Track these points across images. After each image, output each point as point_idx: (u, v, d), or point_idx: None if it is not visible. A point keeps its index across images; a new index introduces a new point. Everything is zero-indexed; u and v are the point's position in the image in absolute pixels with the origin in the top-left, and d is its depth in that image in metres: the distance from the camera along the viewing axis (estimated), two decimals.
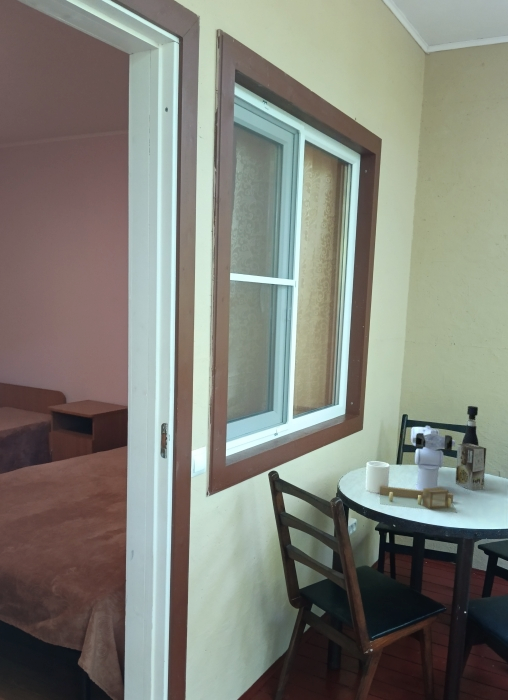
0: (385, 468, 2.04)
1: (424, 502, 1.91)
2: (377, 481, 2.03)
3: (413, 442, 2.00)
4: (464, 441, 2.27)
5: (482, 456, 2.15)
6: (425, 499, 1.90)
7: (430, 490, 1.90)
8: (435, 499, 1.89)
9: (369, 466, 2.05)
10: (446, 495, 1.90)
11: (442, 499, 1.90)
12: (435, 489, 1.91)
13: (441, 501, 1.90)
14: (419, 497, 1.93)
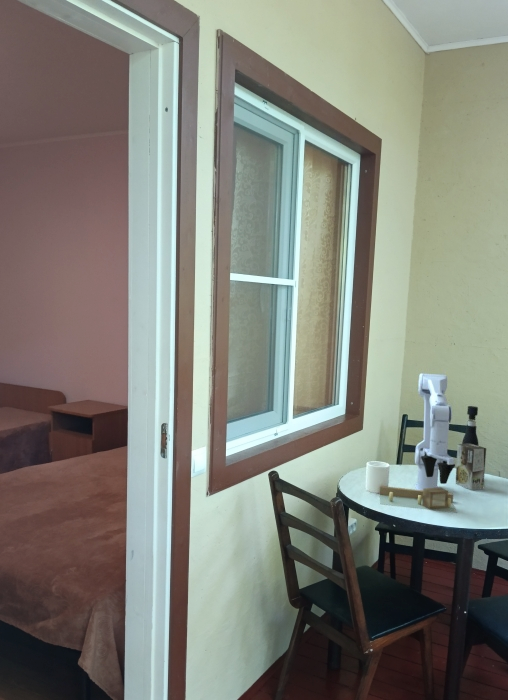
0: (385, 468, 2.04)
1: (424, 502, 1.91)
2: (377, 481, 2.03)
3: None
4: (464, 441, 2.27)
5: (482, 456, 2.15)
6: (425, 499, 1.90)
7: (430, 490, 1.90)
8: (435, 499, 1.89)
9: (369, 466, 2.05)
10: (446, 495, 1.90)
11: (442, 499, 1.90)
12: (435, 489, 1.91)
13: (441, 501, 1.90)
14: (419, 497, 1.93)
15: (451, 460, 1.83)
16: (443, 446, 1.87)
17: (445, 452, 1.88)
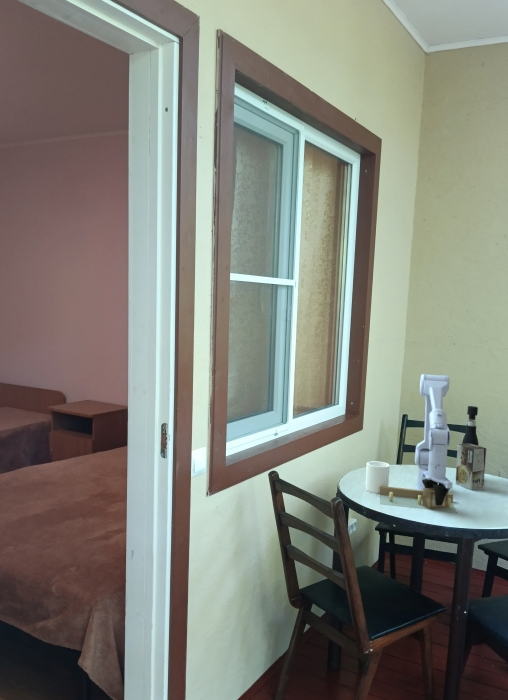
0: (385, 468, 2.04)
1: (424, 502, 1.91)
2: (377, 481, 2.03)
3: None
4: (464, 441, 2.27)
5: (482, 456, 2.15)
6: (425, 499, 1.90)
7: (430, 490, 1.90)
8: None
9: (369, 466, 2.05)
10: (446, 495, 1.90)
11: None
12: None
13: None
14: (419, 497, 1.93)
15: (449, 484, 1.84)
16: (441, 469, 1.88)
17: (443, 475, 1.88)
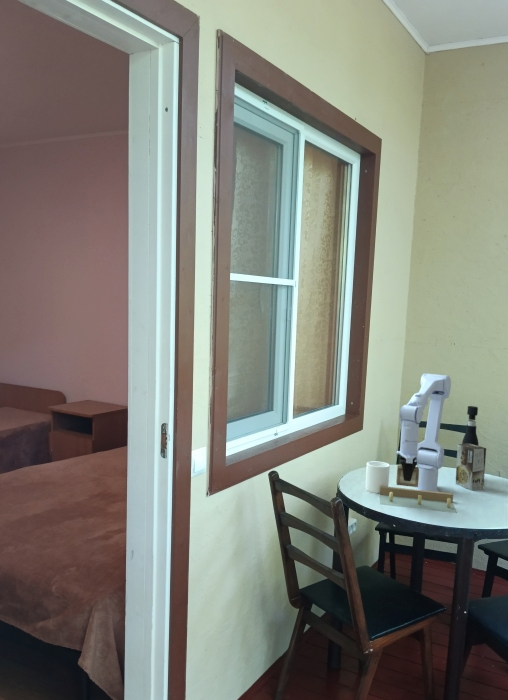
0: (385, 468, 2.04)
1: None
2: (377, 481, 2.03)
3: None
4: (464, 441, 2.27)
5: (482, 456, 2.15)
6: None
7: (400, 467, 1.93)
8: None
9: (369, 466, 2.05)
10: (416, 474, 1.91)
11: (412, 477, 1.91)
12: None
13: None
14: (419, 497, 1.93)
15: (409, 459, 1.86)
16: (409, 445, 1.90)
17: (411, 451, 1.90)
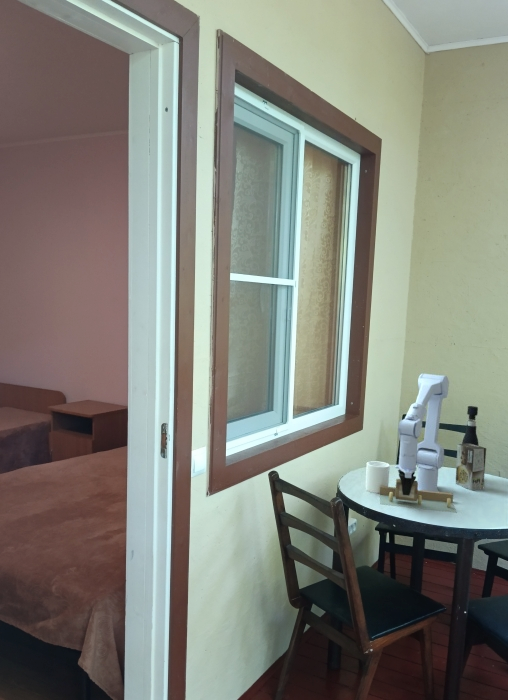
0: (385, 468, 2.04)
1: (395, 492, 1.96)
2: (377, 481, 2.03)
3: None
4: (464, 441, 2.27)
5: (482, 456, 2.15)
6: None
7: (399, 481, 1.94)
8: None
9: (369, 466, 2.05)
10: (415, 488, 1.91)
11: (411, 491, 1.92)
12: None
13: None
14: (419, 497, 1.93)
15: (408, 473, 1.86)
16: (407, 459, 1.91)
17: (410, 466, 1.91)
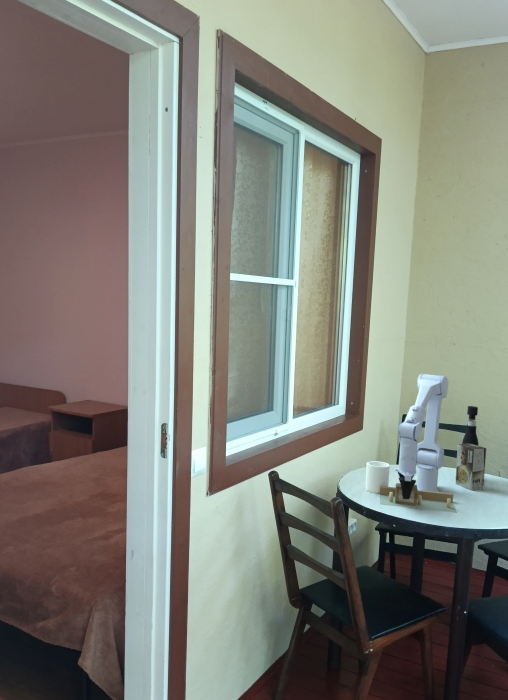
0: (385, 468, 2.04)
1: (395, 496, 1.96)
2: (377, 481, 2.03)
3: None
4: (464, 441, 2.27)
5: (482, 456, 2.15)
6: (395, 493, 1.95)
7: (399, 485, 1.94)
8: None
9: (369, 466, 2.05)
10: (415, 493, 1.91)
11: (410, 496, 1.92)
12: None
13: None
14: (419, 497, 1.93)
15: (408, 476, 1.87)
16: (407, 462, 1.91)
17: (410, 469, 1.91)
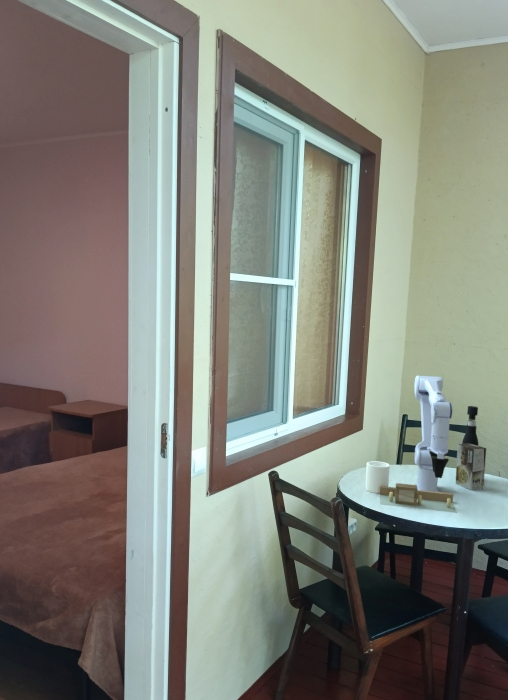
0: (385, 468, 2.04)
1: (395, 496, 1.96)
2: (377, 481, 2.03)
3: None
4: (464, 441, 2.27)
5: (482, 456, 2.15)
6: (395, 493, 1.95)
7: (399, 485, 1.94)
8: (402, 494, 1.92)
9: (369, 466, 2.05)
10: (415, 493, 1.91)
11: (410, 496, 1.92)
12: (406, 485, 1.94)
13: (409, 497, 1.92)
14: (419, 497, 1.93)
15: (440, 454, 1.89)
16: (439, 441, 1.93)
17: (442, 447, 1.93)
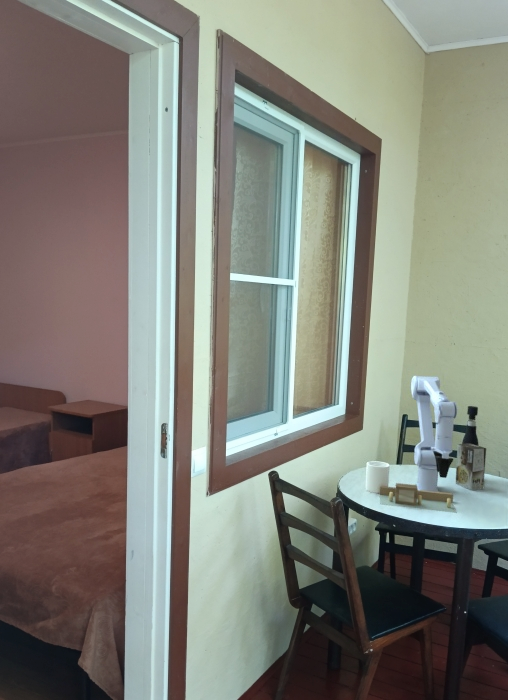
0: (385, 468, 2.04)
1: (395, 496, 1.96)
2: (377, 481, 2.03)
3: None
4: (464, 441, 2.27)
5: (482, 456, 2.15)
6: (395, 493, 1.95)
7: (399, 485, 1.94)
8: (402, 494, 1.92)
9: (369, 466, 2.05)
10: (415, 493, 1.91)
11: (410, 496, 1.92)
12: (406, 485, 1.94)
13: (409, 497, 1.92)
14: (419, 497, 1.93)
15: (445, 454, 1.89)
16: (444, 441, 1.93)
17: (447, 447, 1.93)
